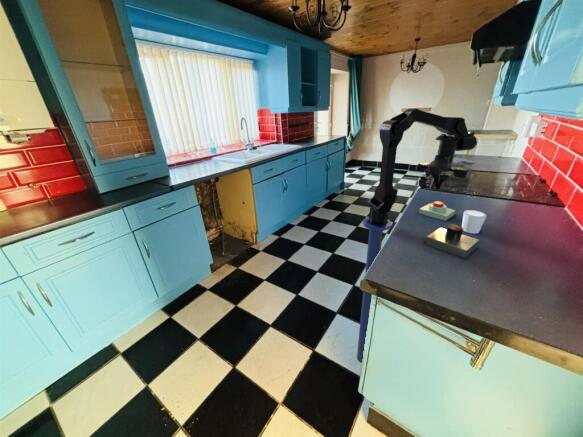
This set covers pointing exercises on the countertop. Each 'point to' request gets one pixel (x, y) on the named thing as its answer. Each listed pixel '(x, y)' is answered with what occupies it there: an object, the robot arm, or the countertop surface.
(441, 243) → the panel
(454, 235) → the knob
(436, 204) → the lock button
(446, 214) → the pale green button base
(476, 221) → the white tapered cup
